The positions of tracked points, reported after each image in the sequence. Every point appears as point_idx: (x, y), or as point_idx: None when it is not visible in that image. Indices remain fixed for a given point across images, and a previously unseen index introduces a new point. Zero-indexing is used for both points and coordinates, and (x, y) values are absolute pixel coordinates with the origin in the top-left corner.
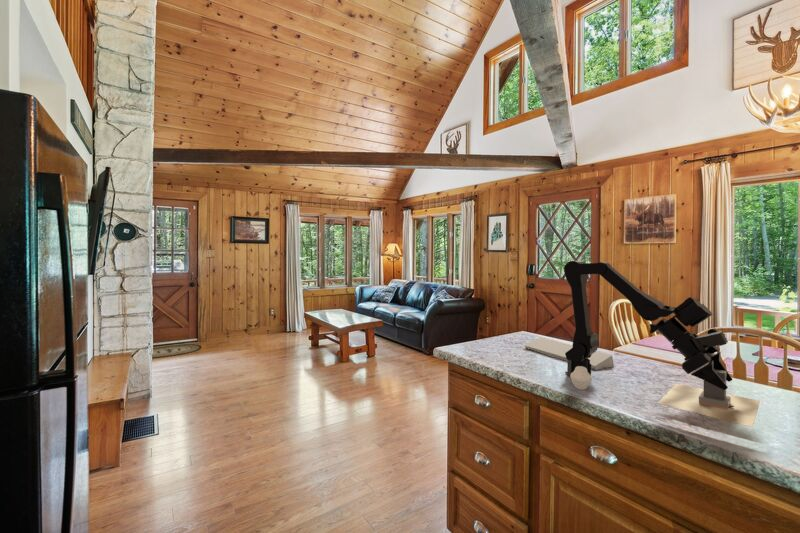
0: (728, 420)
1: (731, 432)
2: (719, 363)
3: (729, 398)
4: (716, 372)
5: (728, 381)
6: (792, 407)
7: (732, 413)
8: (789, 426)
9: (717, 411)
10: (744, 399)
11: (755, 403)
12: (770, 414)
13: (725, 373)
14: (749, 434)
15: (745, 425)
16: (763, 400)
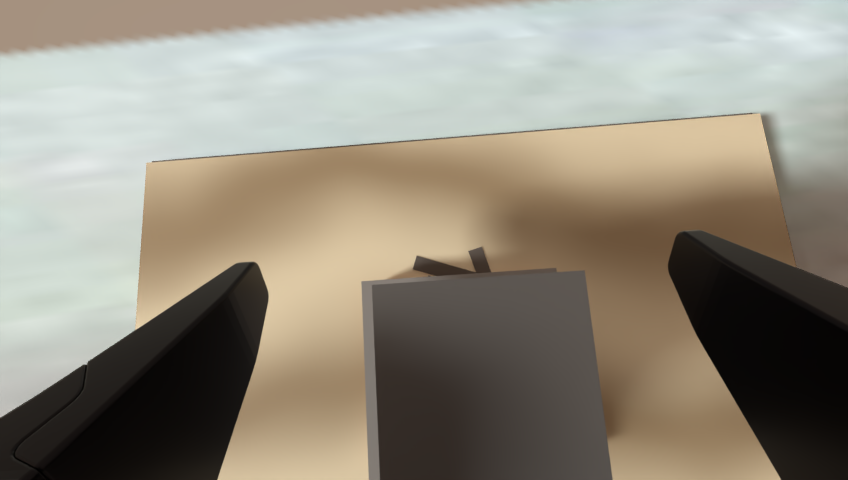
0: (774, 229)
1: (838, 206)
2: (73, 460)
3: (421, 279)
4: (597, 399)
5: (266, 300)
6: (64, 52)
7: (598, 237)
8: (440, 24)
9: (647, 315)
10: (189, 236)
11: (233, 172)
12: (300, 112)
13: (511, 276)
14: (772, 136)
15: (763, 145)
16: (29, 176)
